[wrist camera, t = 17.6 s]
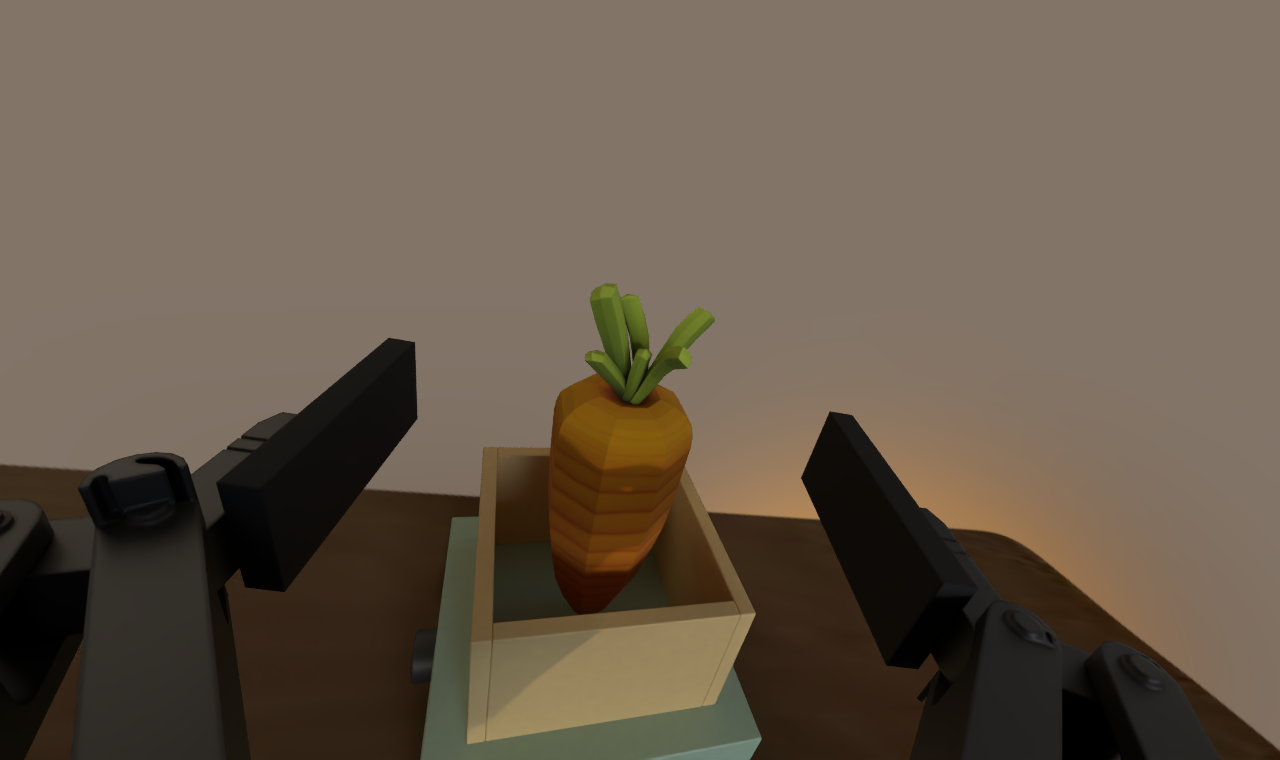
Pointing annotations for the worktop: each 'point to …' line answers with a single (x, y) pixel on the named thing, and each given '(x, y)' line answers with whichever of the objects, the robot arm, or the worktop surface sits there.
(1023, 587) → the worktop surface
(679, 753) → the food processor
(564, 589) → the carrot
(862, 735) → the worktop surface
